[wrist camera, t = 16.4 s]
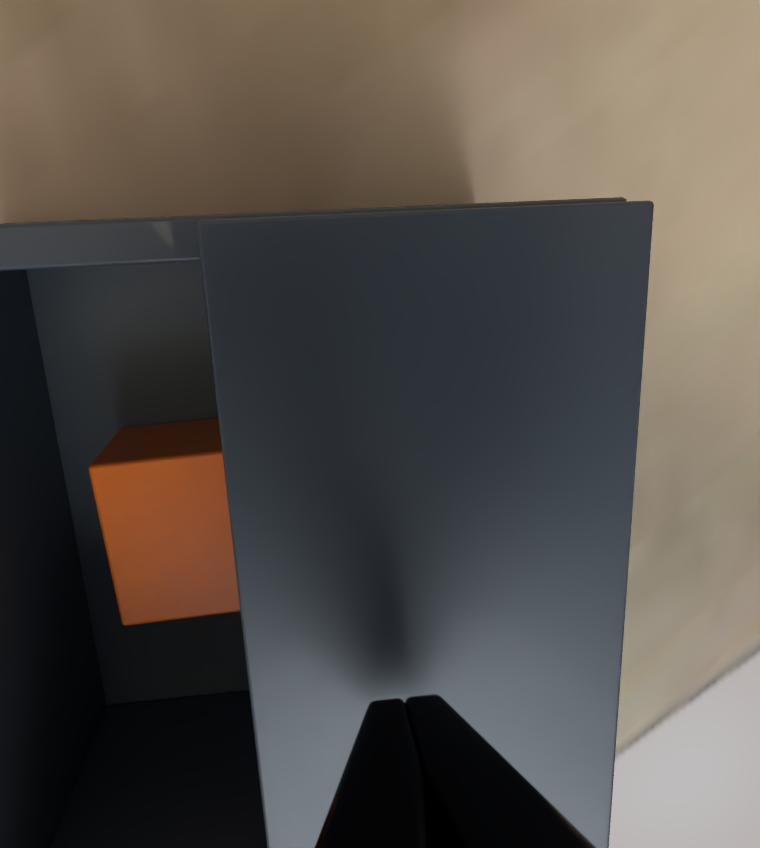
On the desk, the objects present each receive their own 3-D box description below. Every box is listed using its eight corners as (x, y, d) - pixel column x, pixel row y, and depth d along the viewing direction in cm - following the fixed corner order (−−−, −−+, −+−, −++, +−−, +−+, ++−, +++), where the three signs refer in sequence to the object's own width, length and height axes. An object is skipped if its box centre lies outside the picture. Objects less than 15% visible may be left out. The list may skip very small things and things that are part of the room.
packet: (85, 465, 13) (119, 427, 15) (121, 627, 14) (147, 568, 16) (326, 439, 13) (322, 405, 16) (343, 600, 14) (337, 545, 17)
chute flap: (638, 200, 8) (656, 199, 7) (590, 970, 11) (599, 996, 11) (200, 219, 7) (195, 220, 7) (289, 1011, 11) (287, 1040, 11)
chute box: (476, 205, 15) (629, 197, 8) (476, 669, 19) (584, 947, 12) (2, 225, 14) (-290, 236, 7) (95, 710, 18) (-40, 1037, 11)
